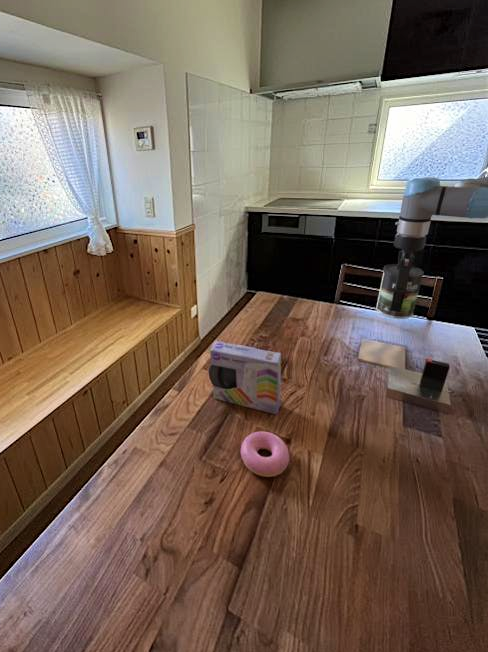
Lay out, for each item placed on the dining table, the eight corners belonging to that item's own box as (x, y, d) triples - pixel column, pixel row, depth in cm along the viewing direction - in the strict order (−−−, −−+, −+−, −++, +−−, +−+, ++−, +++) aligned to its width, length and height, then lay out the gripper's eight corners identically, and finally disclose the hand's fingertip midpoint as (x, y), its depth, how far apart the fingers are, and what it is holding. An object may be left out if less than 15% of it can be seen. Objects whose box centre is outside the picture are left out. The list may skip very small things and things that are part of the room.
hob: (446, 388, 95) (449, 379, 93) (450, 414, 86) (453, 405, 85) (387, 373, 102) (389, 365, 100) (385, 396, 93) (387, 387, 92)
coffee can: (418, 320, 100) (429, 276, 95) (380, 317, 103) (388, 275, 97) (407, 304, 110) (416, 264, 104) (372, 302, 112) (379, 263, 106)
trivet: (404, 349, 112) (405, 347, 111) (404, 371, 102) (405, 369, 101) (361, 340, 118) (362, 338, 118) (357, 360, 108) (357, 358, 108)
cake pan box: (209, 398, 96) (206, 347, 89) (215, 387, 100) (213, 337, 93) (276, 417, 89) (280, 363, 81) (280, 404, 93) (284, 351, 85)
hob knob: (441, 387, 91) (449, 362, 87) (442, 391, 89) (450, 366, 86) (419, 382, 93) (426, 357, 90) (419, 385, 92) (426, 361, 88)
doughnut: (290, 445, 80) (291, 433, 79) (286, 487, 71) (288, 474, 69) (245, 435, 84) (245, 422, 82) (236, 473, 75) (235, 460, 73)
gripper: (397, 224, 106) (384, 287, 116) (394, 244, 89) (379, 317, 98) (425, 225, 103) (409, 291, 112) (428, 247, 85) (409, 322, 95)
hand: (395, 303), depth 105 cm, fingers closed on coffee can, 10 cm apart
